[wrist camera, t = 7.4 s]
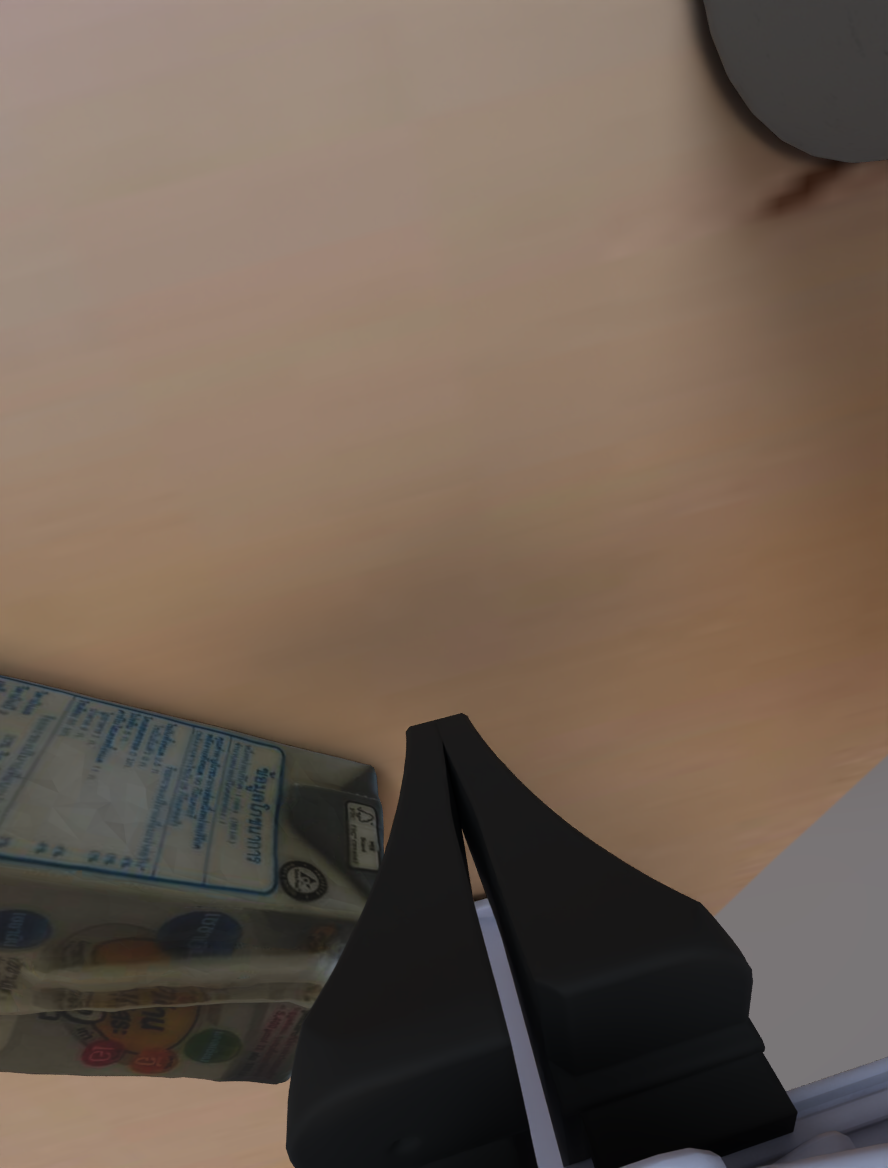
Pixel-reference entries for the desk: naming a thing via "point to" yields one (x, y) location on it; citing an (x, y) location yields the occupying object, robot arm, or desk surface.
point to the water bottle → (810, 70)
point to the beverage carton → (169, 889)
